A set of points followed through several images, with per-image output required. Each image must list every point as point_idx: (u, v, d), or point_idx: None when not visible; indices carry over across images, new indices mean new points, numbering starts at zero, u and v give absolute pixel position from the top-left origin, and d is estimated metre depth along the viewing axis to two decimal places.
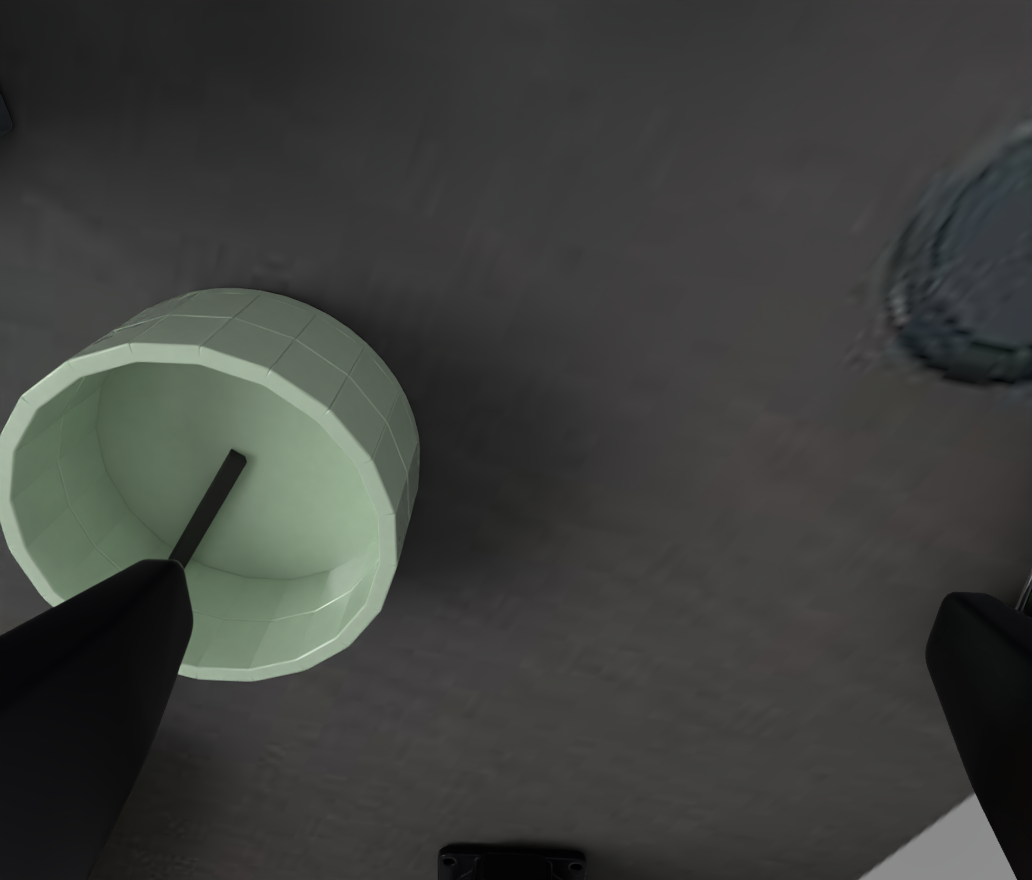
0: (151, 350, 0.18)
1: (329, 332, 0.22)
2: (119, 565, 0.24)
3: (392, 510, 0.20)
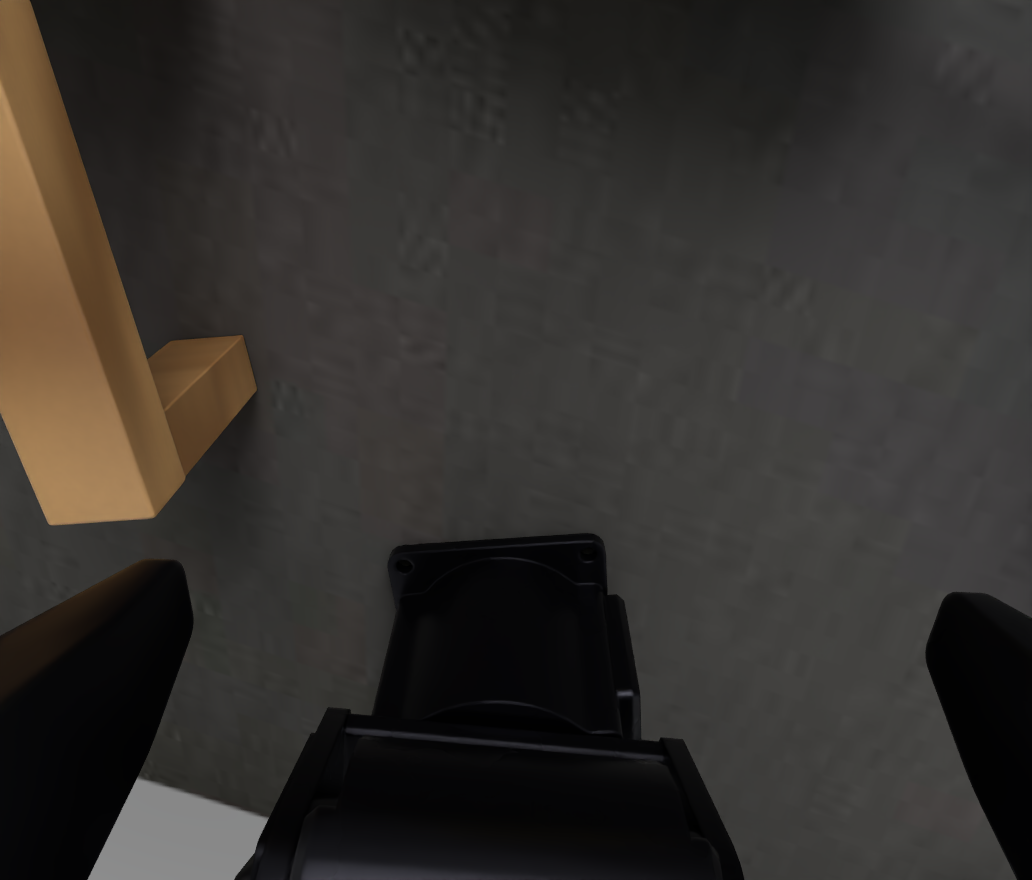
0: None
1: None
2: None
3: None
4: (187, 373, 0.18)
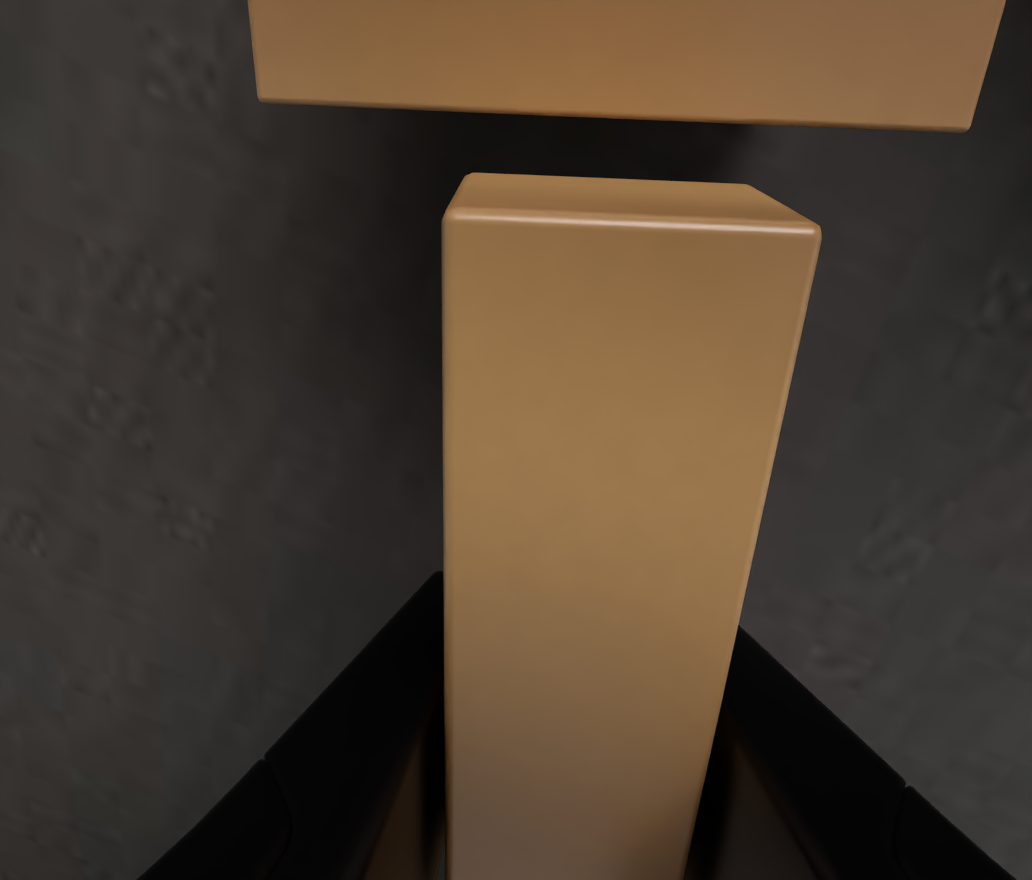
0: None
1: None
2: None
3: None
4: None
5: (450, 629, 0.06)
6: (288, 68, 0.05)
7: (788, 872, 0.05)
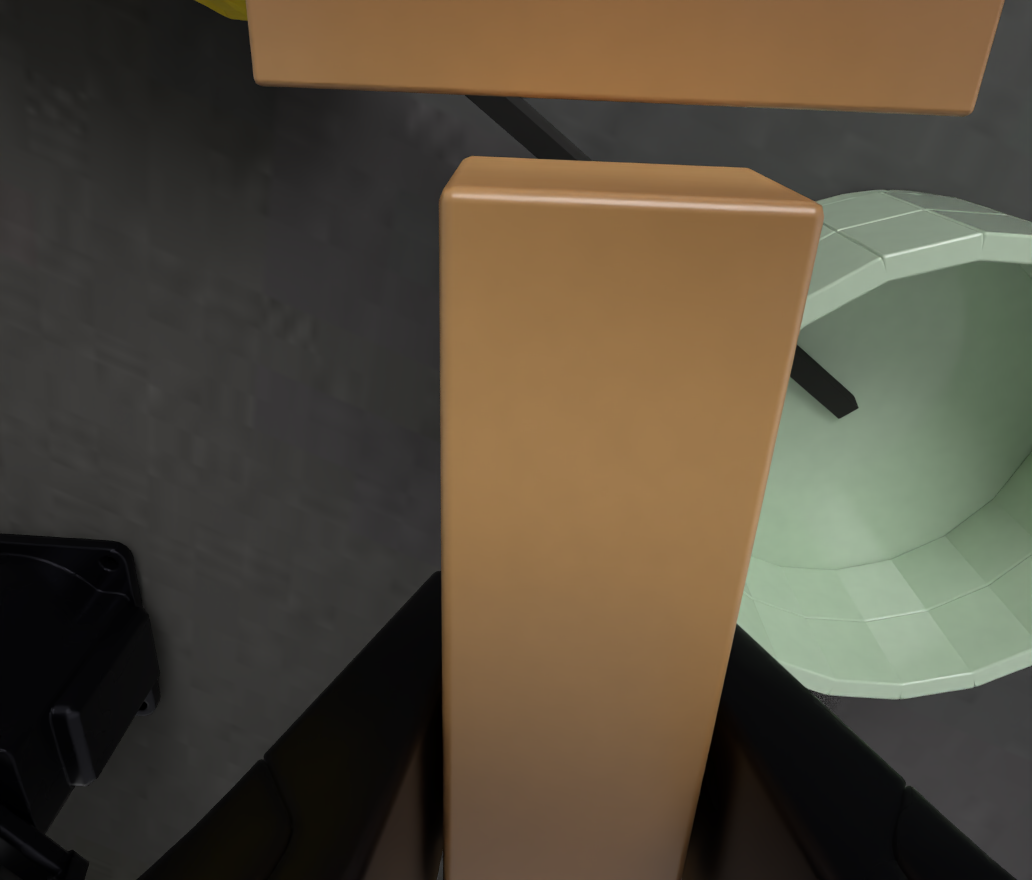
0: None
1: None
2: None
3: (904, 698, 0.18)
4: None
5: (448, 617, 0.06)
6: (286, 51, 0.05)
7: (788, 872, 0.05)
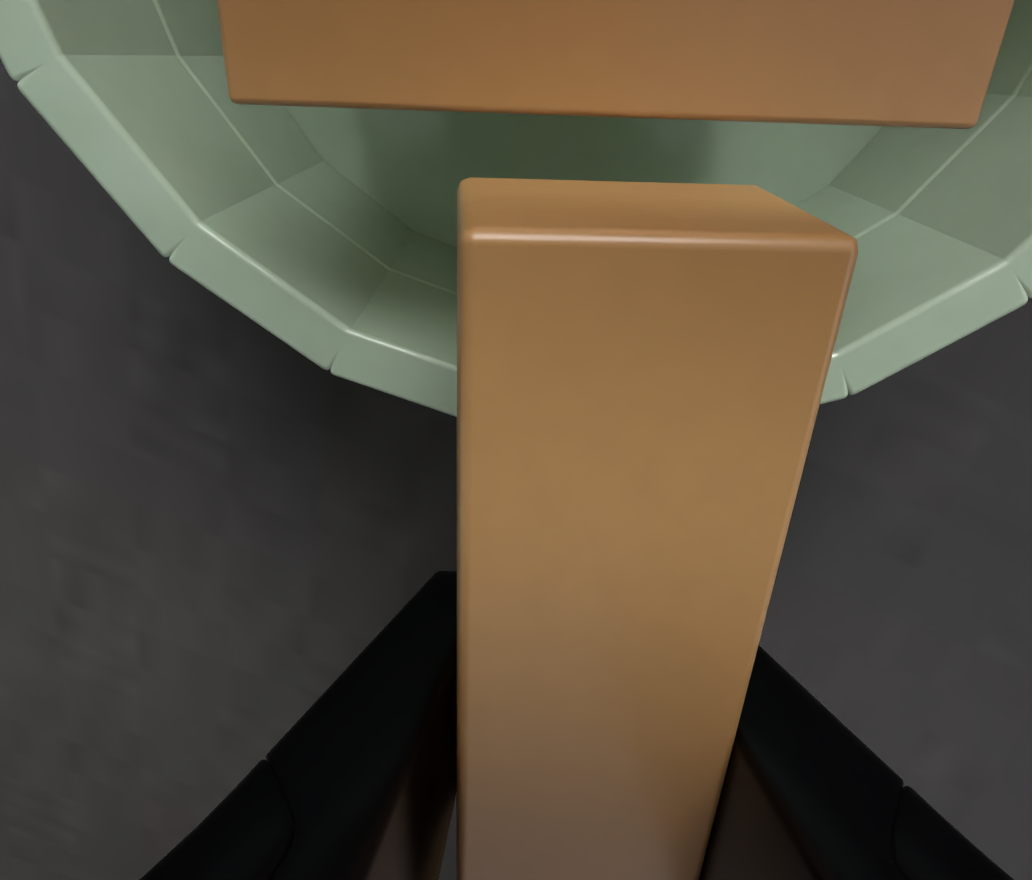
0: None
1: None
2: None
3: None
4: None
5: (465, 663, 0.05)
6: (264, 66, 0.05)
7: (786, 872, 0.05)
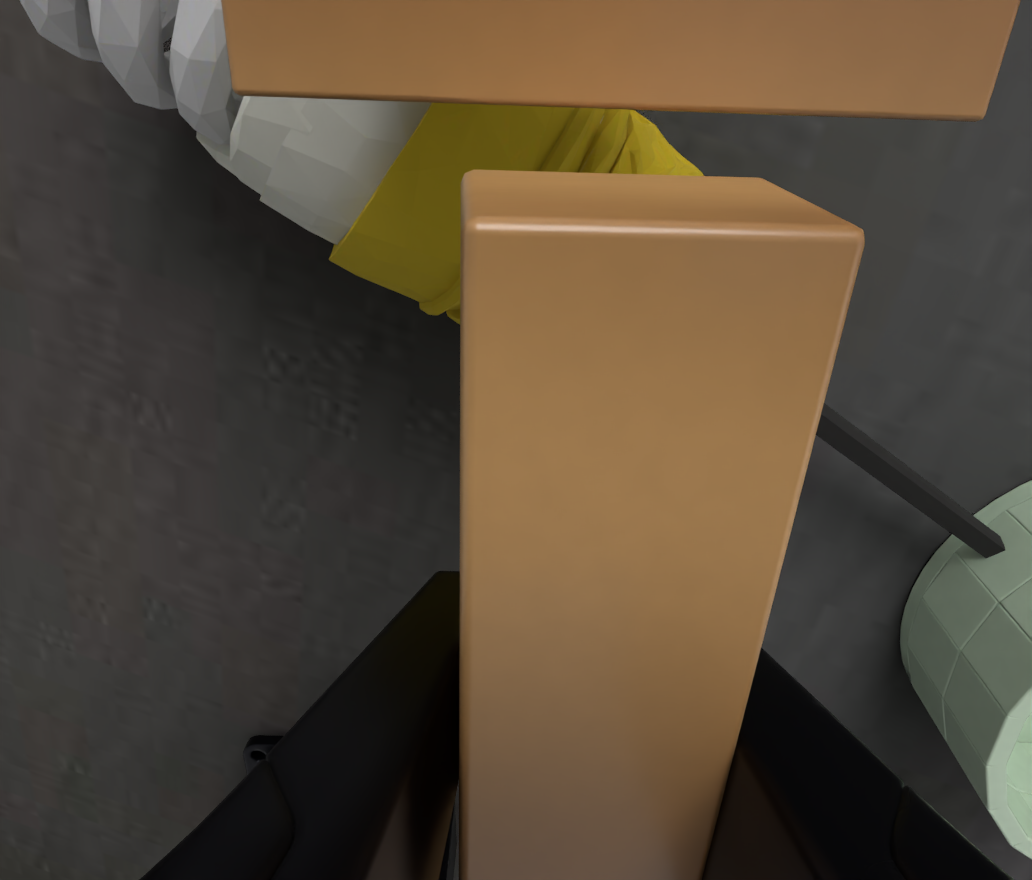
0: None
1: None
2: None
3: None
4: None
5: (468, 658, 0.05)
6: (268, 56, 0.05)
7: (786, 872, 0.05)
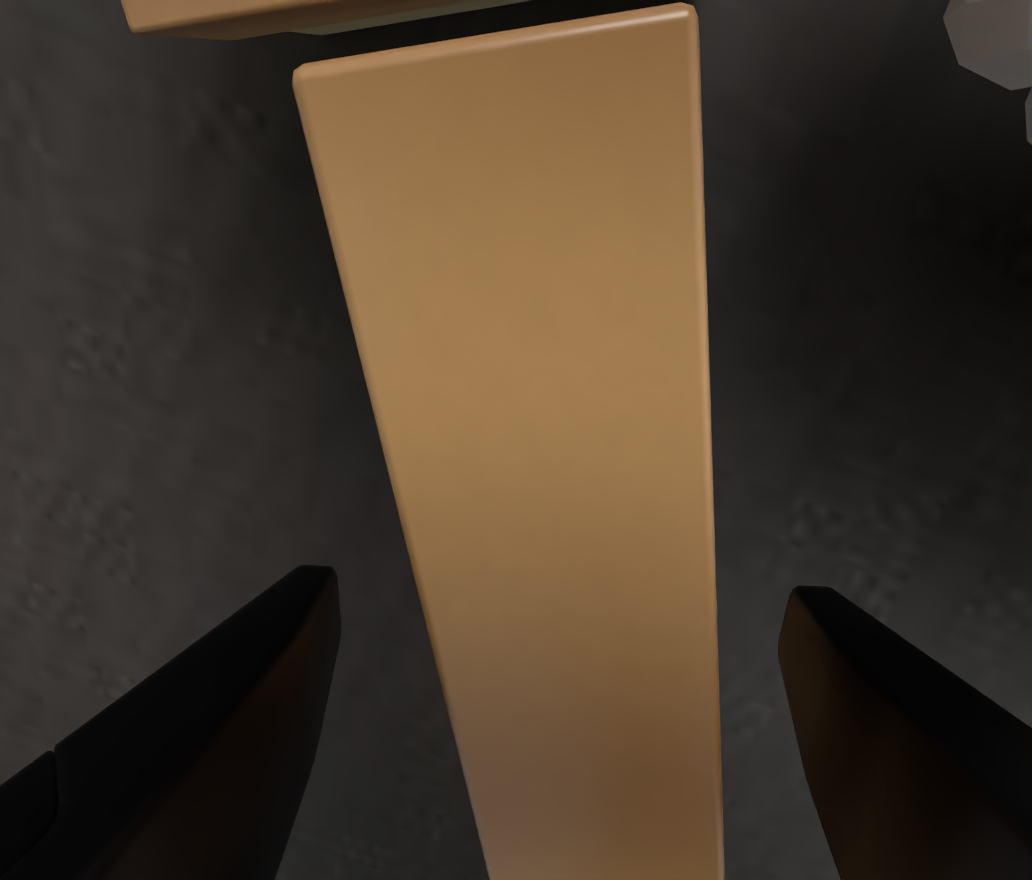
0: None
1: None
2: None
3: None
4: None
5: (409, 538, 0.05)
6: None
7: None
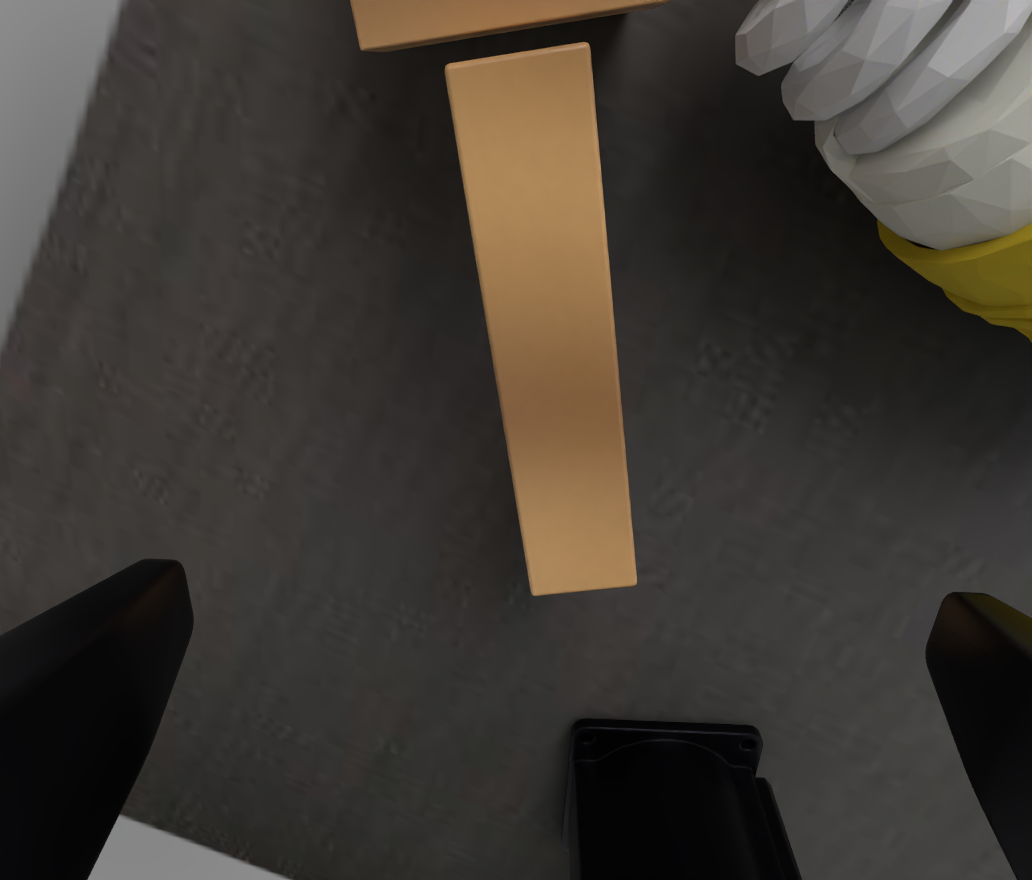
0: None
1: None
2: None
3: None
4: None
5: (479, 264, 0.13)
6: (372, 33, 0.13)
7: None
